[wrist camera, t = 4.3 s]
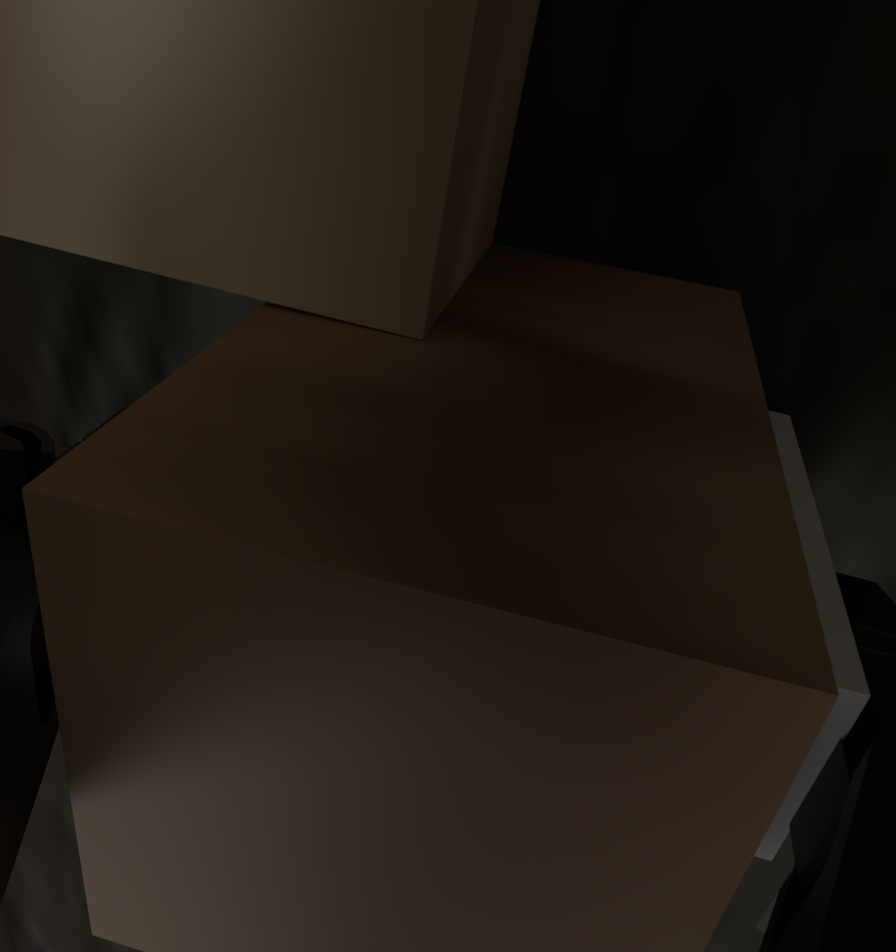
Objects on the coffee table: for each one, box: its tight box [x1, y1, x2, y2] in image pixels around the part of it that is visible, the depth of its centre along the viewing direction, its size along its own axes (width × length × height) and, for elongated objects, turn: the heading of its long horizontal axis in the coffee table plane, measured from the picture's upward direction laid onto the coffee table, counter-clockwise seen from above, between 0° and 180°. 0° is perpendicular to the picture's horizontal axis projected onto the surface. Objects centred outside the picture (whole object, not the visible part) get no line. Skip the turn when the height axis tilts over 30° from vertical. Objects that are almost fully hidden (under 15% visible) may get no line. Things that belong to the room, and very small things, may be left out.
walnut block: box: [22, 243, 839, 952], centre depth 11 cm, size 6×6×9 cm
